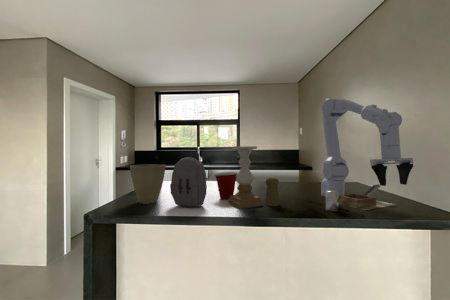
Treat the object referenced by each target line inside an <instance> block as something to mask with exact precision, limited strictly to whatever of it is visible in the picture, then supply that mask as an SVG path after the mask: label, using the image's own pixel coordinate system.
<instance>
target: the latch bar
mask: <svg viewBox="0 0 450 300" xmlns="http://www.w3.org/2000/svg"><path fill="white" fill-rule="evenodd" d="M381 186H382V185H380V183H379V184H373V185H372V186H371V187H370V188H369V189H367V191H365V193H363V194H362V195H365V196H370V197H371V196H372V195H373V194H374V193H375V192H376V191H377V190H378V189H380V188H381Z"/></svg>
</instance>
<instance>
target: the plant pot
mask: <svg viewBox="0 0 450 300" xmlns="http://www.w3.org/2000/svg"><path fill="white" fill-rule="evenodd" d="M129 171H130V176H131V177H130V178H131V180H132V186H133V188H134V192H135V194H136V198H137V200H138V203H139V204H141V203H142V204H143V205H150V203H151V204H154V203H157V202H158V200H159V196H160V194H161V192H162V191H161V190H162V187H163V184H164V180H165V179H164V178H165V172H166V164H158V163H157V164H156V163H154V164H150V163H149V164H147V163H146V164H134V165H133V164H132V165H130V166H129Z"/></svg>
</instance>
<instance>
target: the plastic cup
mask: <svg viewBox="0 0 450 300" xmlns="http://www.w3.org/2000/svg"><path fill="white" fill-rule="evenodd" d="M238 173H239V171H229V172H227V171H226V172H218V173H214V175H213V176H214V177H215V179H216V183H217V188H218V193H219V198H220V200H223V201H228V199H229V198H230V196H231V195H235V194H234V193H235V187H236V182H237V181H236V176H237V175H238Z"/></svg>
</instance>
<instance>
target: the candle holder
mask: <svg viewBox="0 0 450 300" xmlns="http://www.w3.org/2000/svg"><path fill="white" fill-rule="evenodd" d="M231 149H232V150H237V153H238V154H239V156H240V159H239V160H238V164H239V167H240V168H239V171H238V173H237V176H236V181H235V182H236V183H238V185H237V188H236V189H237V191H238V192H236V193H235V194H233V195H231V196H230V198H229V199H228V200H227V204H229V205H230V206H233V208H237V209H240V210H242V209H248V208H249V209H250V208H257V207H263V206H264V201H263V200H261V197H260V196H258V195H256V194H255V193H254V192H252V190H253V185H251V184H253V182H254V181H255V179H254V176H253V174H252V172H251V170H250V165H251V164H252V161H251V159H250V154H251V153H252V150H257V149H258V147H257V146H255V145H253V146H251V145H250V146H249V145H245V146H244V145H243V146H242V145H240V146H232V148H231Z"/></svg>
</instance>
